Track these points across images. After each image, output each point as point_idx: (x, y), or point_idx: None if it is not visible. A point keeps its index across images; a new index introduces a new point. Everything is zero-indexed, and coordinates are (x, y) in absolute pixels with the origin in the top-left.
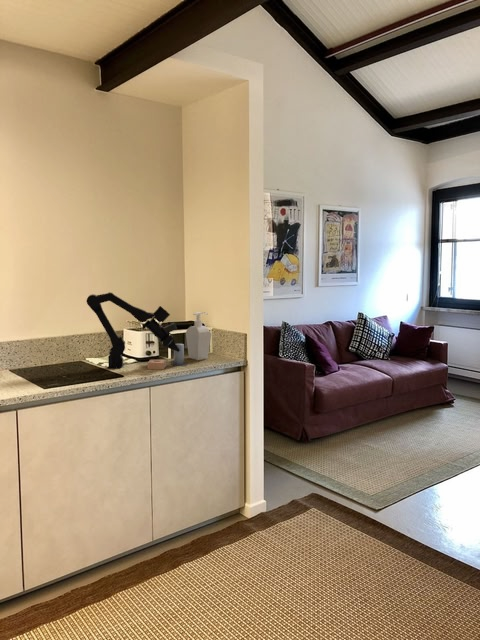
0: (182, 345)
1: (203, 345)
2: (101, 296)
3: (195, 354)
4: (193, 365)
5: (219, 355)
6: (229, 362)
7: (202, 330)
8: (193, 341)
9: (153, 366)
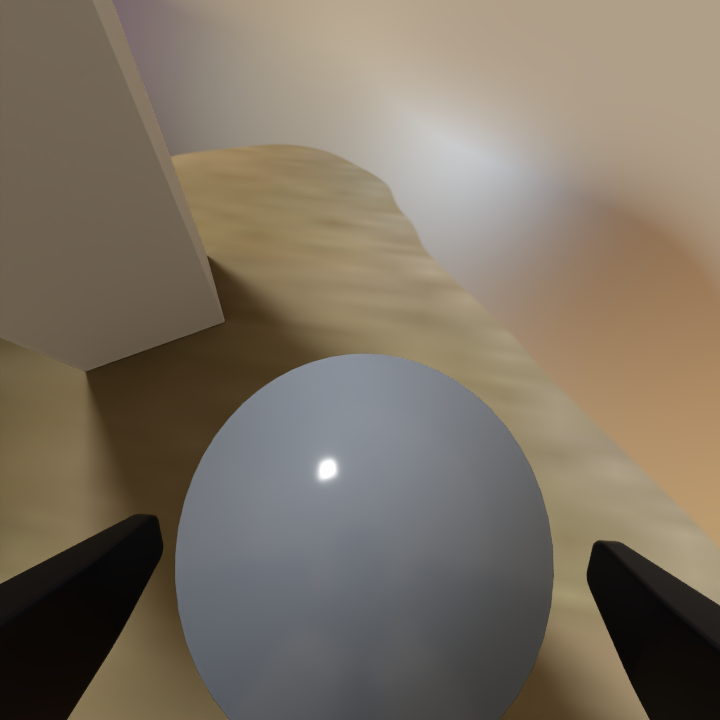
0: (483, 413)
1: (164, 155)
2: None
3: (167, 299)
4: None
5: None
6: (355, 170)
7: None
8: (9, 181)
9: None
